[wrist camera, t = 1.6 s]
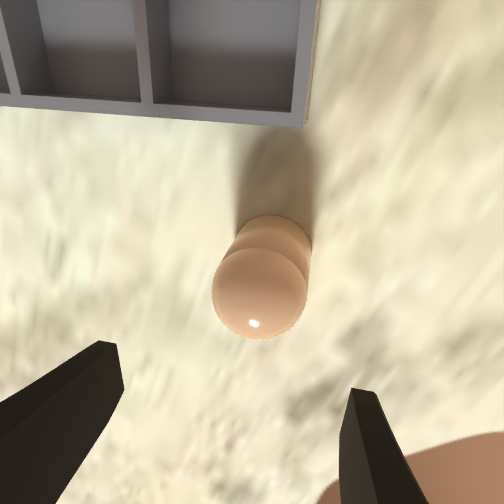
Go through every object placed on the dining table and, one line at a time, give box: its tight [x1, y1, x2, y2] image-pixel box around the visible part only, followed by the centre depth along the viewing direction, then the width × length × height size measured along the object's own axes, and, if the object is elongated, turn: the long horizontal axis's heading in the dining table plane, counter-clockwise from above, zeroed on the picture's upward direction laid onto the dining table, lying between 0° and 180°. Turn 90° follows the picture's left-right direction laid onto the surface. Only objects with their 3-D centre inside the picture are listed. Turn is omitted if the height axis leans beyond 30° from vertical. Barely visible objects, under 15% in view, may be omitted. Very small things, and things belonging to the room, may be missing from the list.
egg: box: [211, 215, 311, 340], centre depth 16 cm, size 4×4×6 cm
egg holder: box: [0, 0, 321, 128], centre depth 14 cm, size 18×6×3 cm, turn 87°
